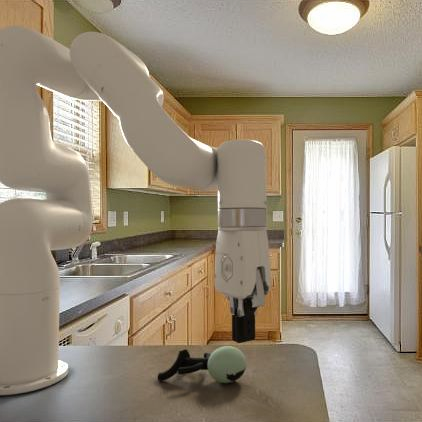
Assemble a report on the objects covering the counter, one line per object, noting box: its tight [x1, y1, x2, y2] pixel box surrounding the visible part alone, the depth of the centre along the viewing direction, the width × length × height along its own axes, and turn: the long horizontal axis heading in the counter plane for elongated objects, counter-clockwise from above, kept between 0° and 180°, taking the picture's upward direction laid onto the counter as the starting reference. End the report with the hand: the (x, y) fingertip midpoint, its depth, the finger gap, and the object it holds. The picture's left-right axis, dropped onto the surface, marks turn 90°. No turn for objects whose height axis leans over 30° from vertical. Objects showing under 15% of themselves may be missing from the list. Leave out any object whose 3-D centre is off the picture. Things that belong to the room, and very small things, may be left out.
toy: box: [157, 345, 247, 384], centre depth 68 cm, size 10×6×15 cm
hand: (243, 340), depth 59 cm, fingers closed
